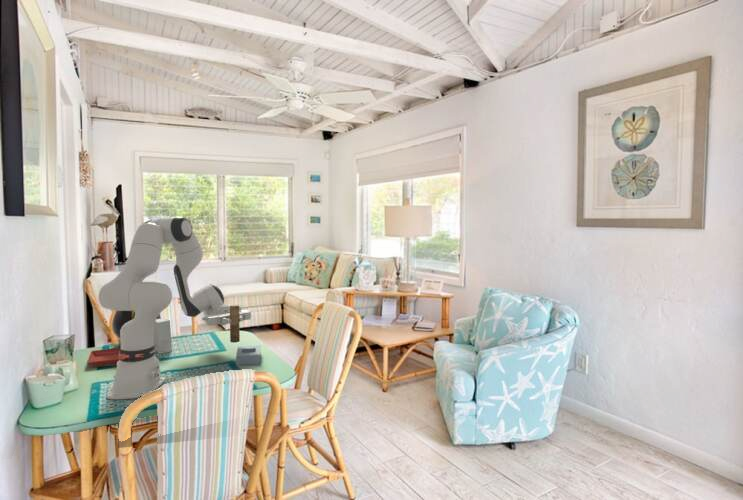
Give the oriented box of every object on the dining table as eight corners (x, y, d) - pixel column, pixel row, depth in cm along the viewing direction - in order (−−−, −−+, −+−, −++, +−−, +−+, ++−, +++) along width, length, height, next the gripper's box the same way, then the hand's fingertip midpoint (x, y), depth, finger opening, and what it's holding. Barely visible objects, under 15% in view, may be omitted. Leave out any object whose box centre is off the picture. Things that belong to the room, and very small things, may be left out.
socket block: (260, 363, 196) (260, 354, 196) (236, 365, 194) (236, 356, 194) (260, 353, 210) (260, 345, 210) (238, 355, 208) (237, 346, 207)
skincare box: (172, 351, 212) (171, 320, 211) (158, 354, 208) (157, 322, 207) (165, 347, 218) (165, 317, 217) (152, 350, 214) (151, 319, 213)
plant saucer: (91, 357, 203) (91, 350, 203) (136, 352, 211) (136, 345, 211) (86, 370, 187) (86, 362, 187) (136, 364, 195) (135, 356, 195)
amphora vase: (141, 352, 211) (140, 292, 209) (102, 348, 215) (99, 290, 213) (171, 339, 232) (169, 285, 230) (134, 336, 236) (132, 283, 234)
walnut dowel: (239, 342, 201) (238, 306, 199) (230, 342, 200) (229, 307, 198) (239, 339, 204) (239, 304, 203) (230, 340, 203) (230, 305, 202)
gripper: (200, 311, 204) (212, 316, 193) (243, 305, 217) (256, 310, 207) (200, 325, 204) (212, 331, 194) (243, 318, 218) (256, 324, 207)
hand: (235, 320), depth 201 cm, fingers closed on walnut dowel, 4 cm apart
